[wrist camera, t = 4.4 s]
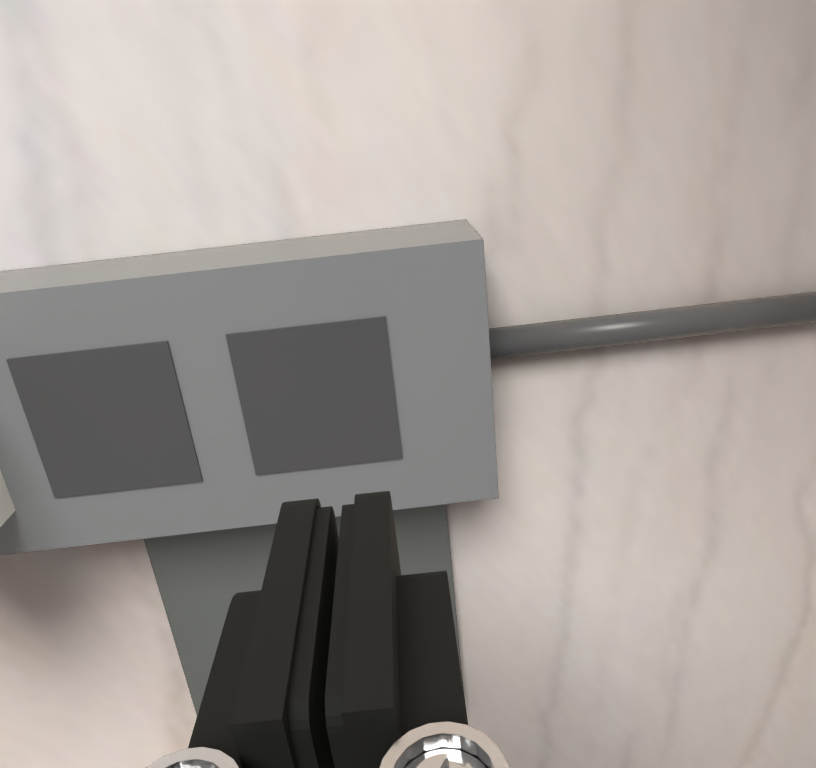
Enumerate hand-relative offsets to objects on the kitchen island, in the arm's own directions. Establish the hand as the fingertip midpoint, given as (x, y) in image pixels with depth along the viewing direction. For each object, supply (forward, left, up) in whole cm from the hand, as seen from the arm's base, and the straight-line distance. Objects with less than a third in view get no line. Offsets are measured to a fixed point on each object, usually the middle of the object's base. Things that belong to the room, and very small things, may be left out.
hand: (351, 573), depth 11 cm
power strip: (+2, +1, -13) cm, 13 cm away
